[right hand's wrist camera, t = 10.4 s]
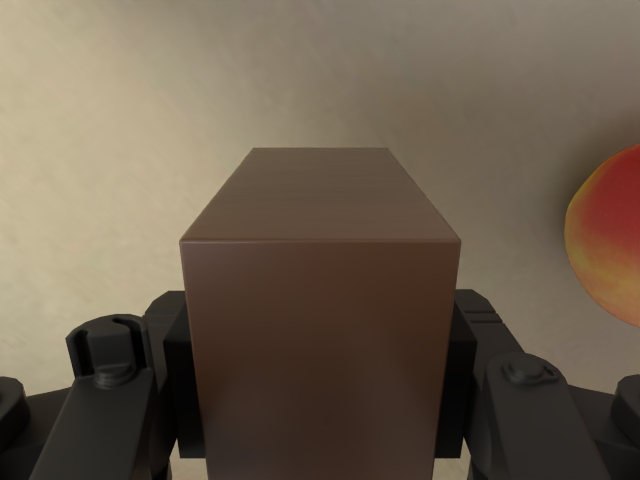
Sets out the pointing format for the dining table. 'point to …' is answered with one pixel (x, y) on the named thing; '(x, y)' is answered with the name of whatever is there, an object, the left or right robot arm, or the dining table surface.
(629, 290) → the apple
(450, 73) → the dining table surface
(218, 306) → the walnut beam
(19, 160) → the dining table surface
